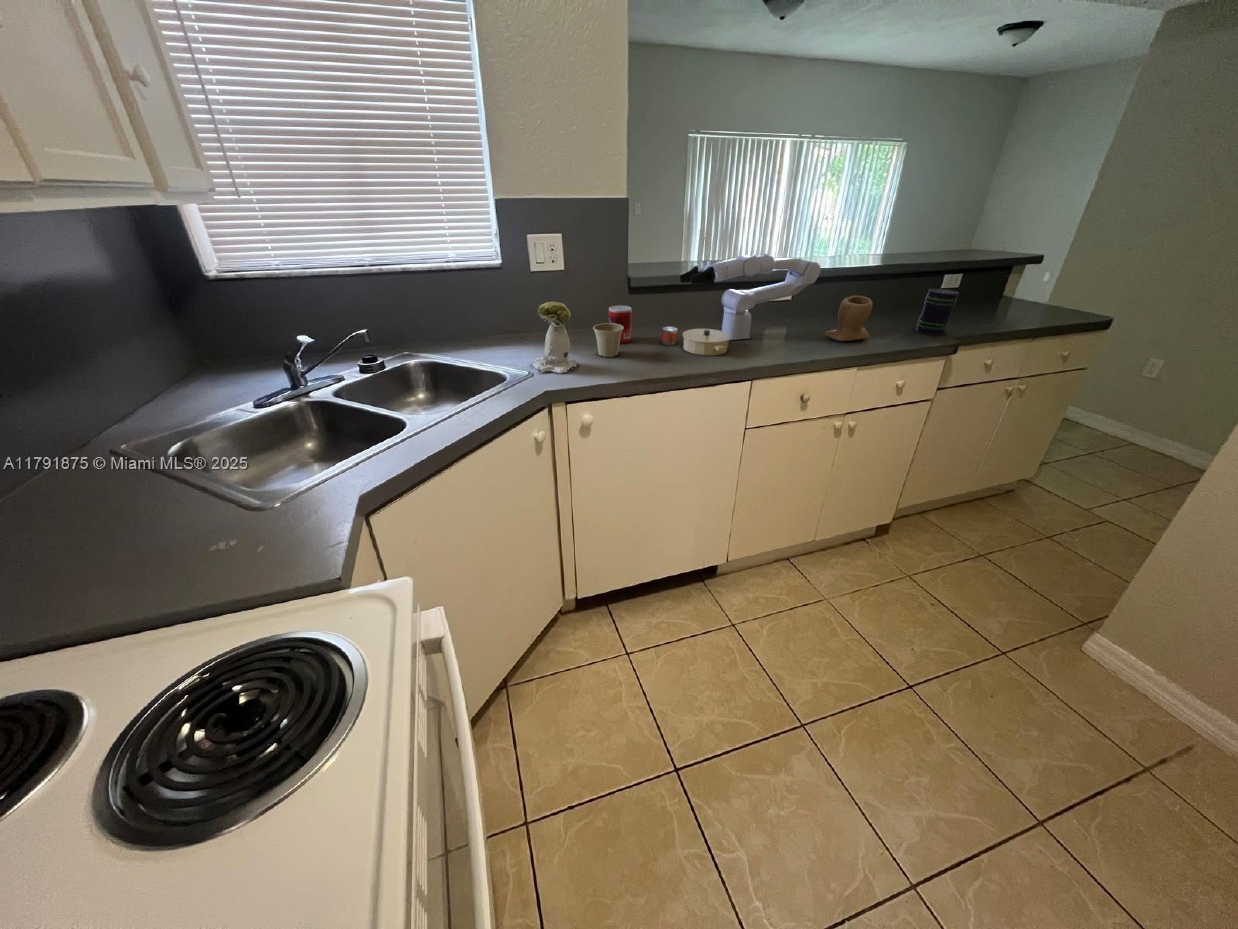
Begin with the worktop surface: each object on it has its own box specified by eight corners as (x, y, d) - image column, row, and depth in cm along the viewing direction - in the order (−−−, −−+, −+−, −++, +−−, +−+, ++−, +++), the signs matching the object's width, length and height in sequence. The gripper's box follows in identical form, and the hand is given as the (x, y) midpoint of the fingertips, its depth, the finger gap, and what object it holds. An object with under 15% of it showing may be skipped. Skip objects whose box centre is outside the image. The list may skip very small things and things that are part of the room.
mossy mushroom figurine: (536, 359, 149) (532, 297, 140) (578, 359, 149) (576, 298, 140) (530, 372, 139) (524, 306, 130) (575, 373, 139) (572, 307, 129)
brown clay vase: (841, 346, 167) (853, 301, 159) (820, 336, 177) (830, 293, 169) (877, 343, 171) (890, 299, 163) (854, 333, 181) (866, 292, 173)
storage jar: (947, 331, 186) (962, 291, 178) (941, 336, 180) (956, 294, 172) (918, 326, 192) (932, 287, 184) (912, 331, 185) (925, 290, 178)
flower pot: (601, 360, 149) (601, 332, 145) (588, 351, 156) (588, 325, 152) (628, 356, 153) (628, 329, 148) (614, 348, 160) (615, 321, 155)
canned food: (631, 337, 171) (632, 305, 165) (629, 344, 164) (630, 311, 158) (609, 336, 171) (610, 304, 166) (607, 343, 165) (607, 310, 159)
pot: (708, 338, 172) (709, 326, 170) (740, 355, 156) (742, 343, 154) (671, 341, 168) (672, 330, 165) (700, 359, 152) (702, 347, 150)
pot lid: (714, 330, 169) (715, 322, 168) (739, 342, 156) (740, 334, 155) (674, 333, 164) (674, 326, 163) (696, 347, 151) (697, 339, 150)
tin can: (672, 340, 169) (673, 326, 166) (678, 344, 165) (680, 329, 162) (658, 341, 167) (659, 327, 165) (665, 345, 163) (666, 331, 161)
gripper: (710, 257, 165) (674, 265, 162) (733, 258, 152) (695, 267, 149) (712, 279, 168) (676, 287, 165) (735, 281, 156) (697, 291, 152)
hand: (685, 279), depth 157 cm, fingers open, 7 cm apart
